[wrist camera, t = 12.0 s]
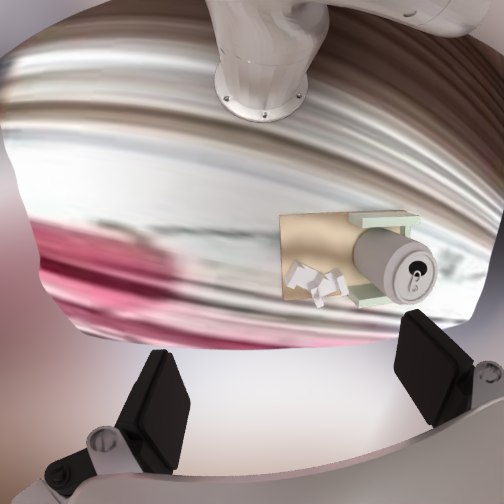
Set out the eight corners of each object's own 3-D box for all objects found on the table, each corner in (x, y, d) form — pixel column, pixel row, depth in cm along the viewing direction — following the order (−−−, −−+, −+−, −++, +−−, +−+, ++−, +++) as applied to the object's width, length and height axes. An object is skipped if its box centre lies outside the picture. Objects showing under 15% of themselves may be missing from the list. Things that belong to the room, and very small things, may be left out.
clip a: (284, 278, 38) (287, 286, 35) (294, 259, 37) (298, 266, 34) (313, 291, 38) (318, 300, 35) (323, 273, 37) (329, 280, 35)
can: (400, 232, 36) (450, 253, 24) (386, 279, 38) (428, 313, 26) (359, 220, 36) (403, 238, 24) (344, 271, 37) (380, 306, 26)
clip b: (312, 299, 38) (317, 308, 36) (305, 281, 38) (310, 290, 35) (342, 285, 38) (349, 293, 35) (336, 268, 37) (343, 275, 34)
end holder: (348, 213, 35) (362, 218, 30) (405, 211, 35) (424, 216, 30) (346, 293, 38) (358, 308, 33) (400, 286, 38) (416, 298, 33)
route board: (279, 215, 36) (279, 216, 35) (403, 210, 36) (407, 211, 35) (282, 297, 39) (283, 300, 38) (399, 284, 39) (402, 286, 38)
